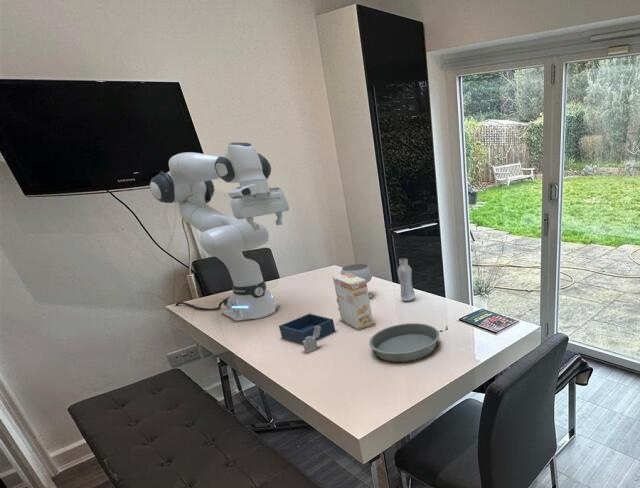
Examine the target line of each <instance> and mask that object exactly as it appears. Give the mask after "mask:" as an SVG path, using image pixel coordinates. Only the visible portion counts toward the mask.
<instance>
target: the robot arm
mask: <svg viewBox="0 0 640 488" xmlns="http://www.w3.org/2000/svg"><path fill="white" fill-rule="evenodd" d="M168 169H169V171H167V172H164V171H160V172H159V173H158V174H157V175H155V176H154V177H151V179H150V181H149V189H150V192H151V194H152V195H153V197H154V198H155V199H156V200H157V201H158V202H160V203H164V204H172V203H181V204H180V205H179V213H180V215H181V217H182V218H183V219H184V220H185V221H186V222H187V223H188V224H189V225H191V226H192V227H193V228H194V229H196V230H198V231H199V232H201V234H199V235H200V236H199V245H200V247H201V249H202V250H203V251H204V252H205V253H206V254H208V255H210V256H213V257H215V258H217V259H218V260H220V261H221V262H222V263H223V264H224V265H225V267H226V269H227V270H228V272H229V275H230V278H231V282H232V284H231V285H230V286H231V288H232V294H231V295H230V296H227V297H225V298H223V299H222V301H220V302H219V303H218V307H213V308H208V307H199V306H196V305H194V304H191V303H187V302H184V301H178V302H176V303H175V306H179V305H184V306H187V307H191V308H193V309H196V310H199V311H217V310H221V308H222V305H224V307H227V308H226V309H225V310H223V315H226V316H227V317H229V318H230V319H232V320H234V321H236V322H239V321H240V322H241V321H246V320H253V319H254V320H256V319H261V318H264V317H267V316H269V315H272V314H274V313H276V309H277V308H278V307H279V306H278V304H277V303H275V302H274V299H273V298H274V296H273V295H272V294H271V293H272V292H271V291H270V290H269V289H267V283H266V281H265V280H264V278H263V274H262V270H261V267H260V264H259V263H258V262H257V261H255V260H254V259H251V258H246V256H244V254H243V252H244V251H249V250H253V249H257V248H259V247H262V246H264V245H266V244H267V243H268V242H269V237H270V235H269V231H268V229H267V227H265V225H264V224H262V223H261V222H258V221H254V220H255V219H254V218H256V217H261V216H266V215H267V216H268V215H272V214H275V216H276V220H275V221H274V222H275V225H276V226H282V225H283V212H288V211H289V210H290V205H289V202H288V200H287V198H286V196H285V193H284V191H283V189H281V188H280V187H278V186H275V187H270V186H269V184H268V179H269V177H270V175H271V173H272V166H271V163H270V162H269V160H268V159H267V158H266V157H265V156H264V155H262V154H261V153H259V152H257V150H256V148H255V147H254V145H253V144H252V143H249V142H240V141H239V142H237V141H236V142H230V143H229V144H227V150H226V151H225V152H224V153H223V154H222V155H221V156H217V155H211V154H205V153H201V152H193V151H192V152H191V151H189V152H188V151H187V152H180V153H177V154H175V155H173V156H171V157H170V158H169V160H168ZM217 179H221V180H222V181H224V182H225V183H230V184H235V183H238V184H239V186H238V187H235V188H234V189H232V190H229V191H228V193H227V195H228V197H229V198H230V203H229V204H230V208H231V211H232V214H233V216H230V215H227V214H224V213H223V212H221V211H219V210H217V208H214V207H212V206H211V205H209V204H208V203H210V202H211V200H212V197H214V194H215V186H214V182H213V181H214V180H217ZM244 219H246V220H244Z"/></svg>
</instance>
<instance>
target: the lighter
mask: <svg viewBox="0 0 640 488" xmlns="http://www.w3.org/2000/svg"><path fill="white" fill-rule="evenodd" d="M320 330H321V327H320V326H315V328H314V333H313V337H312V336H308V337H306V338H305V340H304V341H302V342H303V344H302V345H303V350H304V352H305V353H306V354H308V353H311V352H313V351H315V350H317V349H318V348H319V347H318V344H317V340H316V339H315V338H319V335H320Z"/></svg>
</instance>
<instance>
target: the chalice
mask: <svg viewBox="0 0 640 488" xmlns="http://www.w3.org/2000/svg"><path fill="white" fill-rule="evenodd" d="M346 273H350V274H352V275H355V276H357V277H360V278H362V279H365V280H366V282H367V284H368V283H369V282H371V280H372V278H373V273H372V270H371V269H370V267H369V266H368V265H367V264H364V263H355V264H348V265H345V266H343V267H342V268H341V271H340V275H341V274H346ZM368 295H369V299H371V298H372V297H373V296H374V294H373V293H372V292H370V291H368Z"/></svg>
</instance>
